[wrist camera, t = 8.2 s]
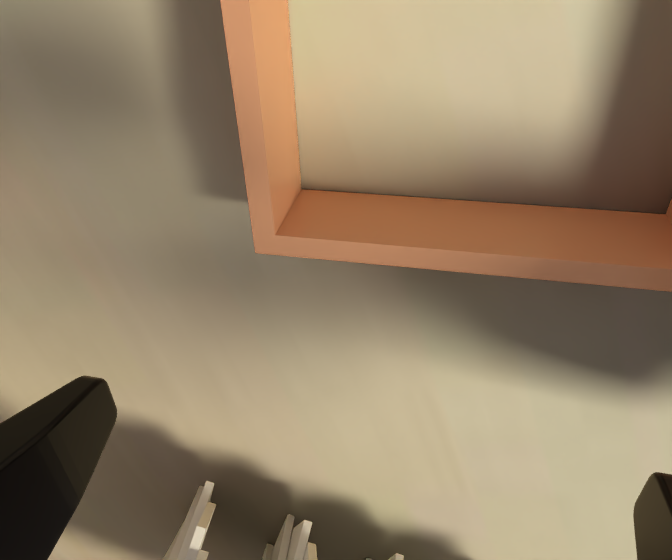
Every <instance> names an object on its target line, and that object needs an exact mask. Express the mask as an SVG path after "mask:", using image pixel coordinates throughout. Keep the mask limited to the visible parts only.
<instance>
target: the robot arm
mask: <svg viewBox="0 0 672 560" xmlns="http://www.w3.org/2000/svg"><path fill="white" fill-rule="evenodd" d="M116 417H117V408H116V405H115V402H114V400H113V397H112V394H111V392H110V389H109V386H108V384H107V382H106V381H105V380H104V379H102V378H97V377H91V376H81V377H78V378H76V379H75V380H73V381H71V382H70V383H68V384H66V385H65V386H63V387H61V388H59V389H58V390H56V391H54V392H53V393H51V394H49V395H48V396H46V397H44V398H43V399H41V400H39V401H38V402H36V403H34V404H32V405H31V406H29V407H27V408H26V409H24V410H22V411H21V412H19V413H17V414H16V415H14V416H12V417H10V418H9V419H7V420H5V421H4V422H2V423H0V560H47V559H48V557H49V556H50V554H51V552H52V550H53V549H54V547H55V545H56V543H57V542H58V540H59V538H60V536H61V534H62V533H63V531H64V529H65V527H66V526H67V524H68V522H69V520H70V518H71V517H72V515H73V513H74V511H75V509H76V508H77V506H78V504H79V502H80V500H81V498H82V496H83V494H84V492H85V490H86V487H87V485H88V483H89V481H90V478H91V476H92V474H93V472H94V469H95V467H96V465H97V463H98V460H99V458H100V456H101V453H102V451H103V449H104V447H105V444H106V442H107V440H108V438H109V435H110V433H111V431H112V429H113V426H114V424H115V421H116ZM634 528H635V539H636V550H637V560H672V475H671V474H665V473H659V472H655V473H653V474H652V475H651V476H650V477H649V478H648V480H647V482H646V484H645V486H644V488H643V489H642V491H641V493H640V495H639V497H638V499H637V500H636V503H635V506H634Z"/></svg>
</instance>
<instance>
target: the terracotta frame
mask: <svg viewBox="0 0 672 560" xmlns="http://www.w3.org/2000/svg"><path fill="white" fill-rule="evenodd" d="M220 2H221V9H222V17H223V24H224V31H225V38H226V46H227V53H228V60H229V67H230V74H231V82H232V89H233V96H234V103H235V111H236V118H237V125H238V132H239V139H240V147H241V154H242V161H243V168H244V176H245V183H246V190H247V197H248V204H249V212H250V219H251V226H252V233H253V240H254V248H255V253H259V254H270V255H281V256H292V257H302V258H313V259H324V260H335V261H346V262H356V263H367V264H378V265H389V266H400V267H410V268H421V269H432V270H443V271H453V272H464V273H475V274H486V275H497V276H507V277H518V278H529V279H540V280H551V281H561V282H572V283H583V284H594V285H604V286H615V287H626V288H637V289H648V290H658V291H669V292H672V199H671V201H670V204H669V207H668V209H667V212H666V214H654V213H639V212H625V211H610V210H596V209H581V208H566V207H552V206H537V205H523V204H508V203H494V202H479V201H465V200H450V199H436V198H421V197H407V196H392V195H377V194H363V193H348V192H334V191H319V190H305V189H301V175H300V162H299V148H298V134H297V121H296V107H295V93H294V80H293V66H292V52H291V39H290V25H289V11H288V0H220Z"/></svg>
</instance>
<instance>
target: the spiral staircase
mask: <svg viewBox="0 0 672 560" xmlns="http://www.w3.org/2000/svg"><path fill="white" fill-rule="evenodd" d="M213 487H214V483H212V482H209V481H206V483H205V486H204V487H203V486H200V485H199V488H198V490H197V493H196V495H195V497H194V500H193V502H192V504H191V507H190V509H189V511H188V514H187V516H186V519H185V521H184V522H183V524H182V525H181V527H180V529H179V531H178V533H177V535H176V536H175V538H174V540H173V542H172V544H171V545H170V547H169V549H168V551H167V553H166V554H165V556H164V558H163V560H207V557H208V554H209V552H207V551H203V550H201V548H202V545H203V542H204V539H205V536H206V533H207V530H208V527H209V524H210V521H211V518H212V516H213V513H214V510H215V507H216V504H214V503H211V502H210V500H211V496H212V492H213ZM294 517H295V516H292V515H289V514H287V517H286V519H285V522H284V524H283V526H282V529H281V531H280V533H279V536H278V538H277V541H276V543H275V545H271V544H268V543H267V545H266V548H265V551H264V554H263V557H262V560H317V550H316V544H313V543H310V542H308V538H309V534H310V530H311V526H312V522H310V521H307V520H303V521H302V522H301V523H300V524H298V525H297V526H296V527H294V529H293V532H292V527H293V522H294ZM291 532H292V536H291ZM290 537H291V540H290ZM289 542H290V543H289ZM307 542H308V543H307ZM273 547H274V548H273ZM403 558H404V555H401V554H398V553H396V554H394V555H393V556H392V557H391V558H389V559H388V560H403ZM366 560H373V559H370V558H367V557H366Z"/></svg>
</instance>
